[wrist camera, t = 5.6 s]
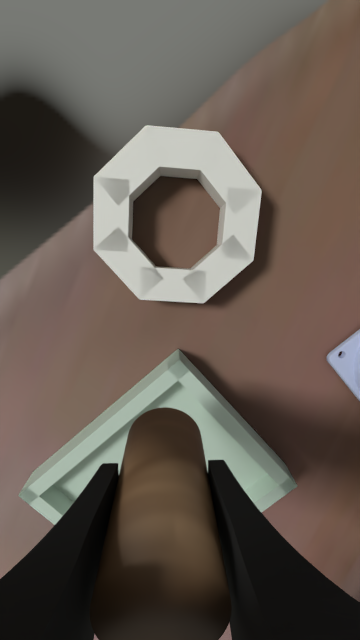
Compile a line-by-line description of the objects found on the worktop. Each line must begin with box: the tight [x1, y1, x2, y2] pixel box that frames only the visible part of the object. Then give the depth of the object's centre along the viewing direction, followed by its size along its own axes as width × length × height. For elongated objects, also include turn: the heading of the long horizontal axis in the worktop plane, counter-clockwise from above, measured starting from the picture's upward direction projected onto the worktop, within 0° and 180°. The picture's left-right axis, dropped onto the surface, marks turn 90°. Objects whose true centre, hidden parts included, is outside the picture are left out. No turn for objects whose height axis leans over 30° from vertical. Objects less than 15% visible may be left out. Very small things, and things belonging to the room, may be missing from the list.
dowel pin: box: [89, 407, 232, 640], centre depth 11 cm, size 4×4×7 cm
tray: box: [18, 349, 297, 525], centre depth 22 cm, size 15×13×2 cm
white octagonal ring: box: [93, 125, 262, 303], centre depth 18 cm, size 10×10×2 cm
